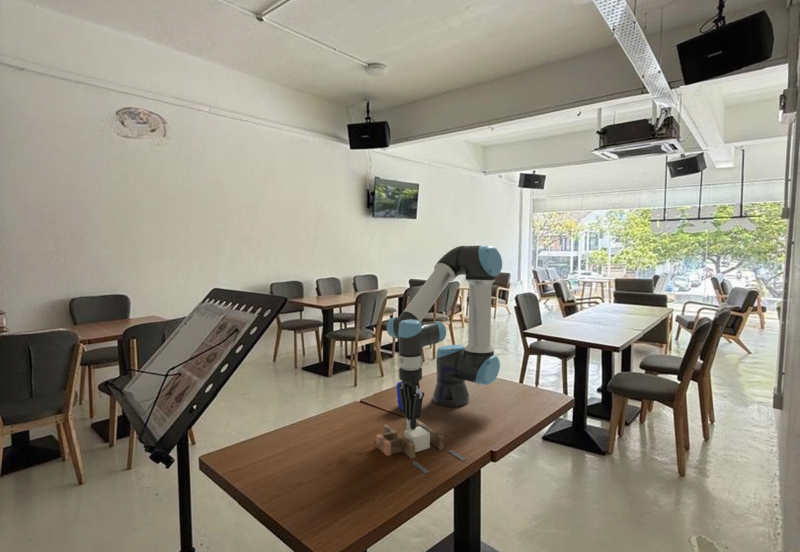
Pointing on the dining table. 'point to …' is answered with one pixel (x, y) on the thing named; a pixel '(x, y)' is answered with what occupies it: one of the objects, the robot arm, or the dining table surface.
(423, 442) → the block
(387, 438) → the wooden bar frame
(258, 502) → the dining table surface
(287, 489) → the dining table surface
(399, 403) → the mug
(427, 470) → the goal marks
